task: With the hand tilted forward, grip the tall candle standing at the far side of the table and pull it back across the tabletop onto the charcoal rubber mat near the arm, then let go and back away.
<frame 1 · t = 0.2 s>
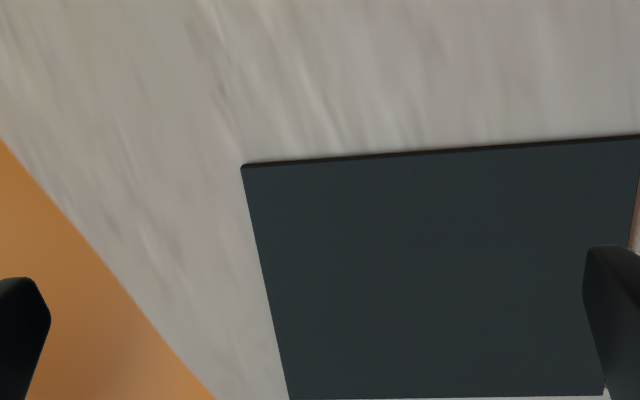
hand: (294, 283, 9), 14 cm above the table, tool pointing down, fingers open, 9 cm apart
mat: (436, 286, 26), on the table
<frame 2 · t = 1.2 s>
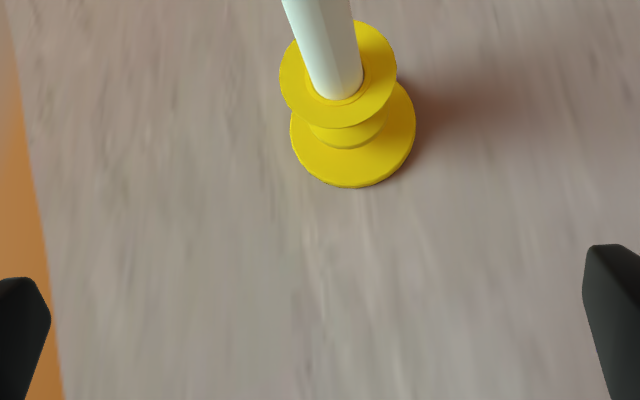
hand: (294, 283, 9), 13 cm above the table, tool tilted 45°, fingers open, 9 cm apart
candle: (353, 130, 24), on the table
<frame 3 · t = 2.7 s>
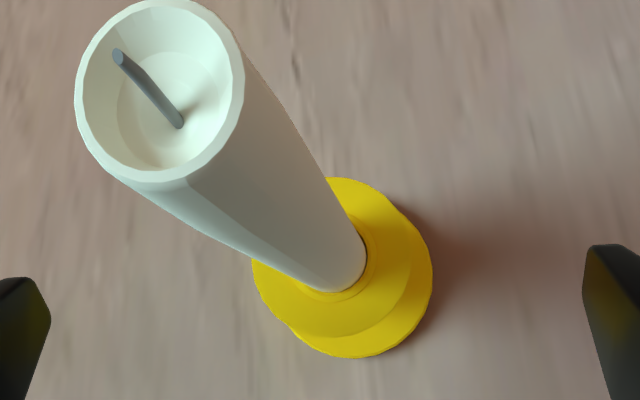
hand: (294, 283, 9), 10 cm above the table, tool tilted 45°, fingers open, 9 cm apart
candle: (352, 276, 19), on the table
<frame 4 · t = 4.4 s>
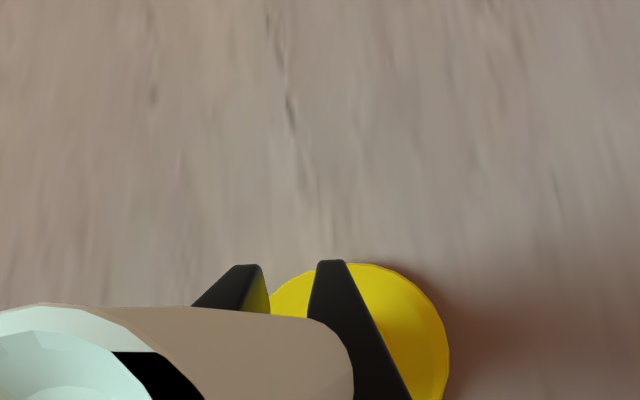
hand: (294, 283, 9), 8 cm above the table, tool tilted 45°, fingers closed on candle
candle: (357, 353, 17), on the table, touching gripper
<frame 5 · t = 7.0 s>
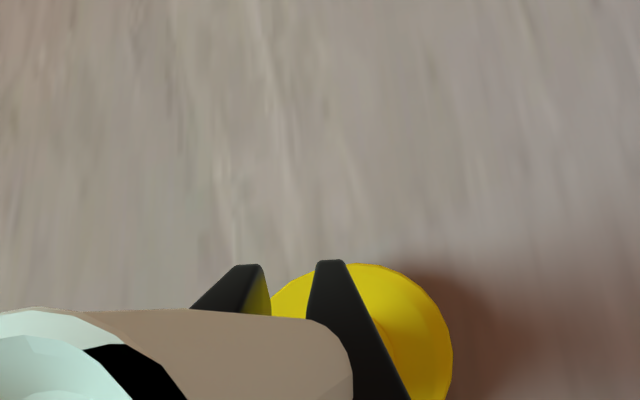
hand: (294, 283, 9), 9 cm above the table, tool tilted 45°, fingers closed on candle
candle: (361, 353, 17), point 1 cm above the table, touching gripper
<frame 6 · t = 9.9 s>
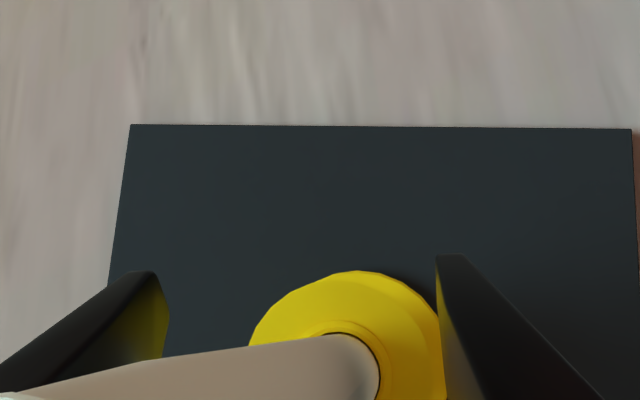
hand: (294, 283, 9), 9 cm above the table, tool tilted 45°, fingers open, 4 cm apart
candle: (359, 361, 17), resting on mat
mat: (352, 351, 17), on the table
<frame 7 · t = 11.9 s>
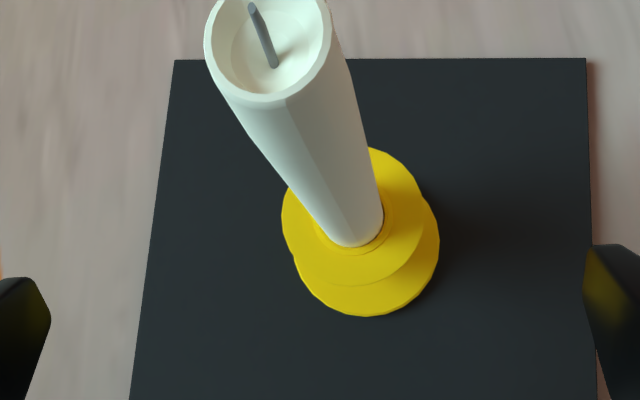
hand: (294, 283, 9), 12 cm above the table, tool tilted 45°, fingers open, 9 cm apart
candle: (365, 244, 21), resting on mat
mat: (359, 237, 21), on the table
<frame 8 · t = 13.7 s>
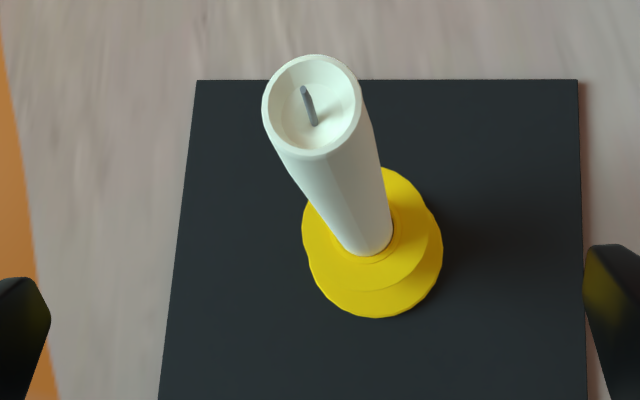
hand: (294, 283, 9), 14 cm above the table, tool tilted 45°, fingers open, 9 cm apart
candle: (375, 251, 22), resting on mat
mat: (369, 245, 23), on the table
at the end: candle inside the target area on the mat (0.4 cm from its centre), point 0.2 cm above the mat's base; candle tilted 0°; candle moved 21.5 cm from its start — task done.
